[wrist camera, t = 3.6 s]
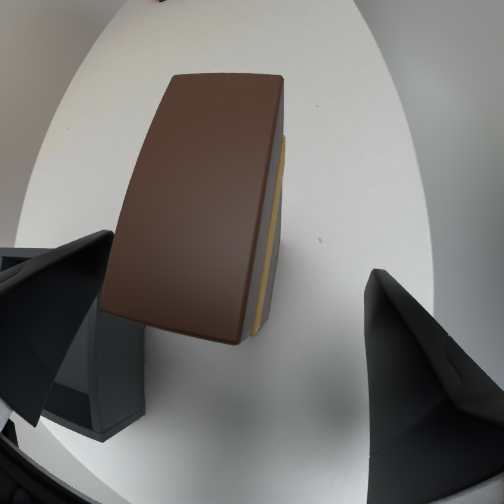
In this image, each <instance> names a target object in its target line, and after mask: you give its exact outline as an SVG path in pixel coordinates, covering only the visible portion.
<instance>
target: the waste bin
mask: <svg viewBox="0 0 504 504" xmlns="http://www.w3.org/2000/svg"><path fill="white" fill-rule="evenodd" d="M50 250H53V249H50V248H0V272H2V271H5V270H7V269H9V268H11V267H14V266H16V265H18V264H20V263H23V262H26V261H27V260H30V259H32V258H34V257H36V256H39V255H41V254H43V253H46V252H48V251H50ZM103 285H104V284H103ZM102 291H103V286H102V288H101V290H100V292H99V294H98V296H97V297H96V299H95V301H94V303H93V304H92V306H91V308H90V310H89V311H88V313H87V315H86V317H85V319H84V321H83V323H82V324H81V326H80V328H79V330H78V332H77V334H76V336H75V338H74V340H73V342H72V344H71V346H70V348H69V350H68V352H67V354H66V356H65V358H64V360H63V363H62V365H61V367H60V369H59V371H58V374H57V376H56V378H55V380H54V383H53V385H52V388H51V390H50V393H49V395H48V397H47V400H46V402H45V405H44V408H43V410H42V413H41V416H43V417H45V418H47V419H49V420H51V421H53V422H55V423H57V424H59V425H61V426H63V427H66V428H68V429H70V430H72V431H74V432H77V433H79V434H81V435H84V436H86V437H89V438H91V439H94V440H96V441H99V442H102V443H103V442H105V441H106V440H108V439H109V438H111V437H112V436H114V435H115V434H117V433H118V432H120V431H121V430H123V429H124V428H126V427H127V426H129V425H130V424H132V423H133V422H135V421H136V420H138V419H139V418H141V417H142V416H144V415H145V409H144V379H143V345H144V325H142V324H139V323H135V322H132V321H128V320H125V319H121V318H118V317H115V316H111V315H108V314H105V313H103V312H102V311H101V310H100V303H101V297H102Z"/></svg>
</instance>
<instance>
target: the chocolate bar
mask: <svg viewBox="0 0 504 504" xmlns="http://www.w3.org/2000/svg"><path fill="white" fill-rule="evenodd" d="M283 124H284V79H283V77H282V76H281V75H270V74H252V73H199V74H181V75H174V76H173V77H172V79H171V81H170V83H169V85H168V87H167V89H166V91H165V93H164V96H163V98H162V100H161V102H160V104H159V107H158V109H157V111H156V114H155V116H154V118H153V121H152V123H151V125H150V128H149V130H148V133H147V135H146V138H145V140H144V143H143V146H142V148H141V151H140V154H139V157H138V159H137V162H136V165H135V168H134V171H133V174H132V177H131V180H130V183H129V186H128V189H127V192H126V195H125V199H124V202H123V206H122V209H121V212H120V216H119V220H118V223H117V227H116V231H115V235H114V239H113V243H112V247H111V252H110V256H109V261H108V265H107V270H106V275H105V280H104V285H103V291H102V297H101V303H100V310H101V311H102V312H103V313H105V314H108V315H111V316H115V317H118V318H121V319H125V320H128V321H132V322H135V323H139V324H142V325H146V326H150V327H153V328H157V329H161V330H165V331H169V332H173V333H177V334H181V335H186V336H190V337H195V338H199V339H204V340H208V341H213V342H218V343H223V344H228V345H233V346H235V345H239V344H240V343H241V342H242V341H244V340H245V339H246V338H247V337H248V336H250V337H251V336H254V335H255V334H256V333H257V332H258V330H259V328H260V326H261V325H262V324H263V323H264V322H265V321H267V320H268V315H269V309H270V303H271V296H272V290H273V284H274V277H275V271H276V264H277V258H278V251H279V244H280V231H281V205H282V178H283V171H284V164H285V136H284V135H283Z"/></svg>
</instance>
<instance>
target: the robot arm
mask: <svg viewBox="0 0 504 504" xmlns="http://www.w3.org/2000/svg"><path fill="white" fill-rule="evenodd" d="M113 239H114V233H113V232H112V231H109V230H101V231H98V232H96V233H93V234H91V235H88V236H85V237H83V238H80V239H78V240H75V241H73V242H70V243H67V244H65V245H63V246H60V247H58V248H55V249H53V250H50V251H48V252H46V253H43V254H41V255H39V256H36V257H34V258H32V259H30V260H27V261H26V262H23V263H20V264H18V265H16V266H14V267H11V268H9V269H7V270H5V271H2V272H0V504H101V503H99V502H97V501H95V500H93V499H92V498H90V497H88V496H86V495H84V494H83V493H81V492H79V491H78V490H76V489H74V488H73V487H71V486H70V485H68V484H66V483H65V482H63V481H62V480H60V479H59V478H57V477H56V476H54V475H53V474H51V473H50V472H49V471H47V470H46V469H44V468H43V467H42V466H40V465H39V464H37V463H36V462H35V461H34V460H32V459H31V458H30V457H28V456H27V455H26V454H25V453H24V452H22V451H21V450H20V449H19V446H18V442H17V436H16V431H15V425H14V423H13V422H12V421H11V420H10V419H9V417H10V415H11V413H12V412H13V411H14V412H15V413H17V414H18V415H19V416H20V417H22V418H23V419H24V420H26V421H27V422H28V423H29V424H31V425H32V426H33V427H36V426H37V424H38V421H39V418H40V415H41V413H42V410H43V408H44V405H45V402H46V400H47V397H48V395H49V393H50V390H51V388H52V385H53V383H54V380H55V378H56V376H57V374H58V371H59V369H60V367H61V365H62V363H63V360H64V358H65V356H66V354H67V352H68V350H69V348H70V346H71V344H72V342H73V340H74V338H75V336H76V334H77V332H78V330H79V328H80V326H81V324H82V323H83V321H84V319H85V317H86V315H87V313H88V311H89V310H90V308H91V306H92V304H93V303H94V301H95V299H96V297H97V296H98V294H99V292H100V290H101V288H102V286H103V284H104V280H105V275H106V270H107V265H108V261H109V256H110V252H111V247H112V243H113ZM364 336H365V348H366V359H367V372H368V388H369V414H370V457H369V479H368V494H367V504H504V391H503V390H502V389H501V388H500V387H498V385H497V384H496V383H495V382H494V381H493V380H492V379H491V378H490V377H489V376H488V375H487V374H486V373H485V372H484V371H483V370H482V369H481V368H480V367H479V366H478V365H477V364H476V363H475V362H474V361H473V360H472V359H471V358H470V357H469V356H468V355H467V354H466V353H465V352H464V351H463V349H462V348H461V347H460V346H459V345H458V344H457V343H456V342H455V341H454V340H453V338H452V337H451V336H448V333H447V332H446V331H445V330H444V329H443V328H442V327H441V326H440V324H439V323H438V322H437V321H436V320H435V319H434V318H433V317H432V316H431V315H430V314H429V313H428V312H427V311H426V310H425V309H424V308H423V307H422V306H421V305H420V304H419V303H418V302H417V301H416V300H415V299H414V298H413V297H412V296H411V295H410V294H409V293H408V292H407V291H406V290H405V289H404V288H403V287H402V286H401V285H400V284H399V283H398V282H397V281H396V280H395V279H394V278H393V277H392V276H391V275H390V274H389V273H388V272H387V271H385V270H382V269H373V270H372V271H371V274H370V277H369V279H368V282H367V285H366V287H365V291H364Z"/></svg>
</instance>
